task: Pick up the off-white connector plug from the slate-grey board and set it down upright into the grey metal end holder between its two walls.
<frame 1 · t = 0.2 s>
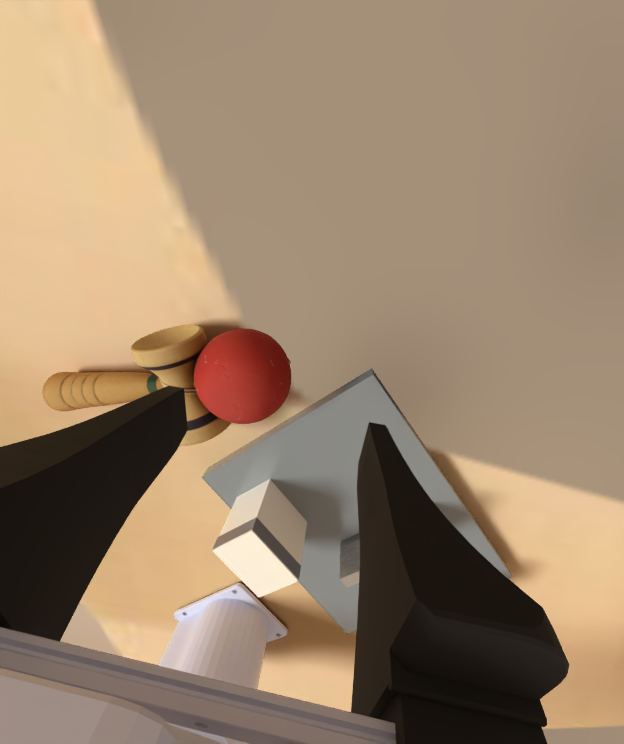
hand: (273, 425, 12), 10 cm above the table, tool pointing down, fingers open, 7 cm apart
connector: (272, 509, 25), point 1 cm above the table, touching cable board
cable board: (357, 516, 26), on the table
kendama: (182, 372, 24), on the table
end holder: (411, 559, 26), resting on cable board
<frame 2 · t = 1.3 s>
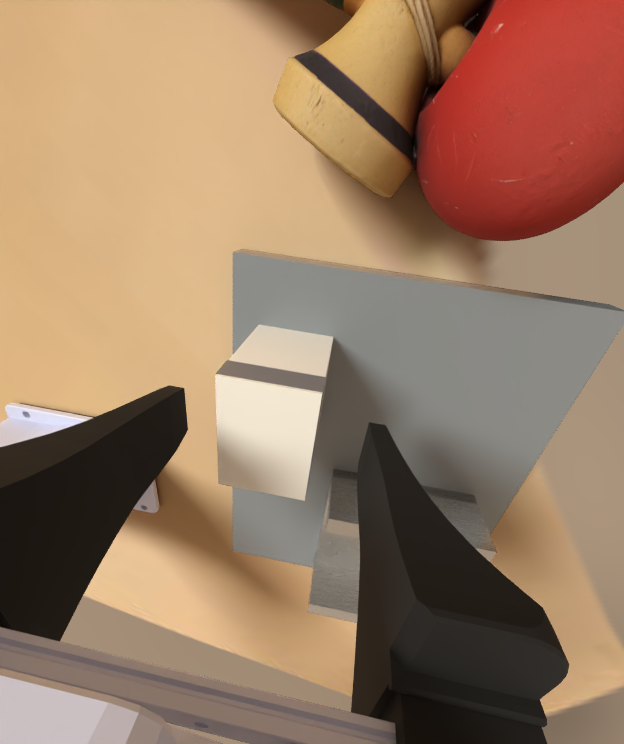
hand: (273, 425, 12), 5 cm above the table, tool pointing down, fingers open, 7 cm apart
connector: (291, 377, 16), point 1 cm above the table, touching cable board
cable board: (369, 454, 19), on the table
kendama: (353, 31, 11), on the table
end holder: (384, 531, 20), resting on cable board
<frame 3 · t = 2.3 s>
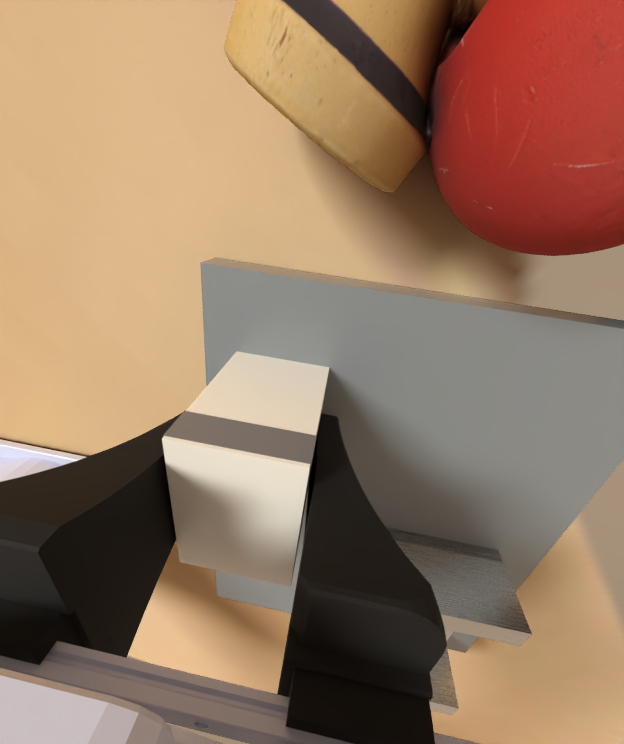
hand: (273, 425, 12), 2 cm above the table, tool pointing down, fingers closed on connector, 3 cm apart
connector: (278, 413, 13), point 1 cm above the table, touching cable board, gripper
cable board: (372, 496, 16), on the table
end holder: (390, 583, 17), resting on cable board
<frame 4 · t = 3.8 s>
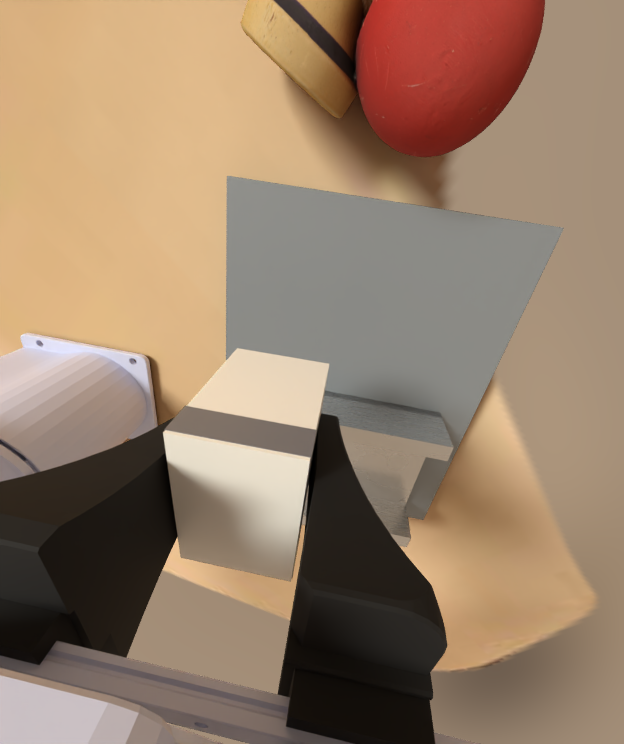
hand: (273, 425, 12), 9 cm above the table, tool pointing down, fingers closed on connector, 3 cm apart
connector: (278, 410, 13), point 8 cm above the table, touching gripper
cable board: (348, 378, 21), on the table
end holder: (362, 452, 22), resting on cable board
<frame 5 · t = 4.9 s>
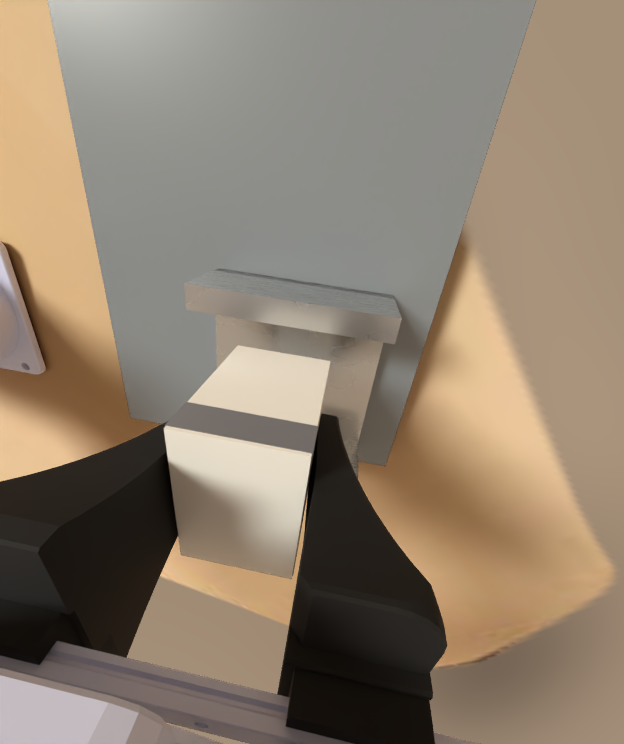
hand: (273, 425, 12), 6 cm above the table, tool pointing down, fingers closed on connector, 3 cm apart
connector: (278, 408, 13), point 5 cm above the table, touching gripper
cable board: (269, 259, 15), on the table
end holder: (295, 368, 16), resting on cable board
when the fingers open (4 cm above the table, at t = 5.6 s): connector drops 1 cm, resting on end holder.
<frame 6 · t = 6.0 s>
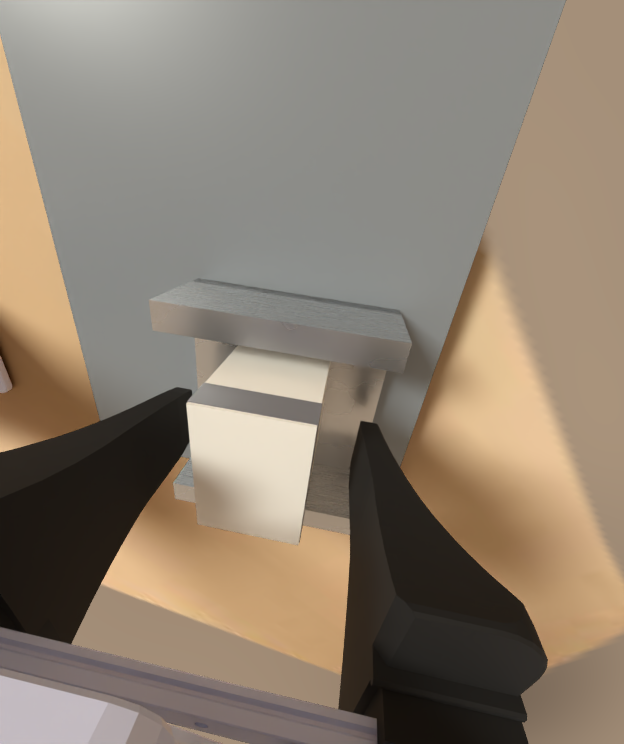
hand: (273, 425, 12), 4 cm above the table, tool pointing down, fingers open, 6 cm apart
connector: (284, 394, 14), point 2 cm above the table, touching end holder
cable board: (256, 267, 13), on the table
end holder: (287, 390, 14), resting on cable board
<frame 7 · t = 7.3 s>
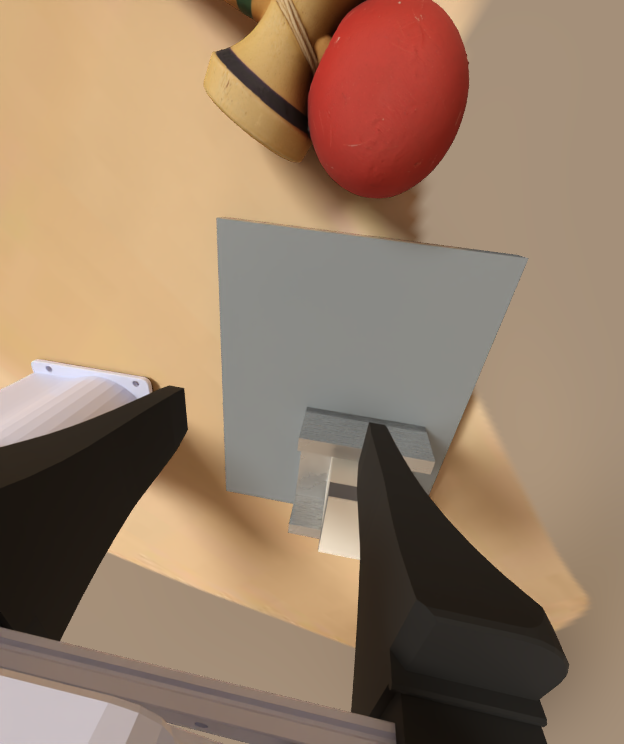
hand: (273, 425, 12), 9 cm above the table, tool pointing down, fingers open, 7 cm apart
connector: (354, 469, 23), point 2 cm above the table, touching end holder
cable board: (338, 396, 22), on the table
kendama: (275, 34, 14), on the table
end holder: (353, 464, 23), resting on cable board
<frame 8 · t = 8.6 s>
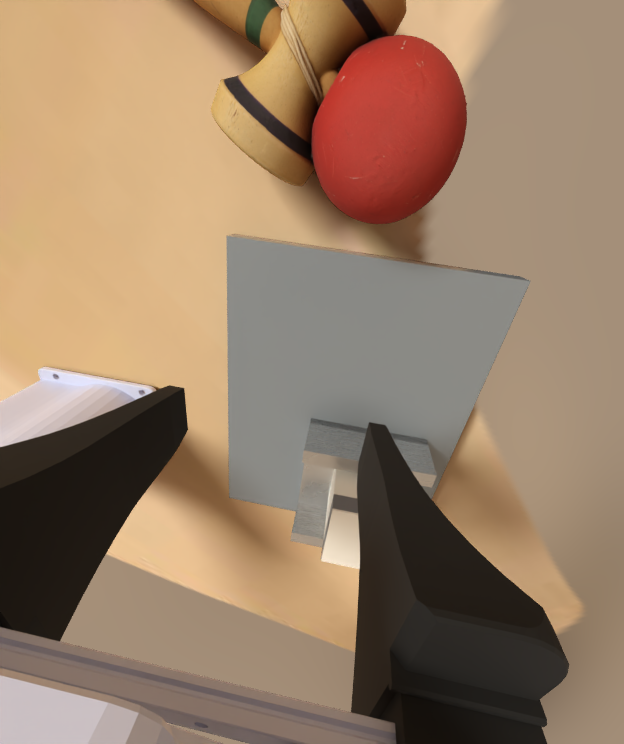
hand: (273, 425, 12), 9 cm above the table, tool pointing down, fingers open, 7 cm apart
connector: (356, 479, 23), point 2 cm above the table, touching end holder
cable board: (341, 407, 22), on the table
kendama: (282, 60, 14), on the table
end holder: (355, 474, 24), resting on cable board
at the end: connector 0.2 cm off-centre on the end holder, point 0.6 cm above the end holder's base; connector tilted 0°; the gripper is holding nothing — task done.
